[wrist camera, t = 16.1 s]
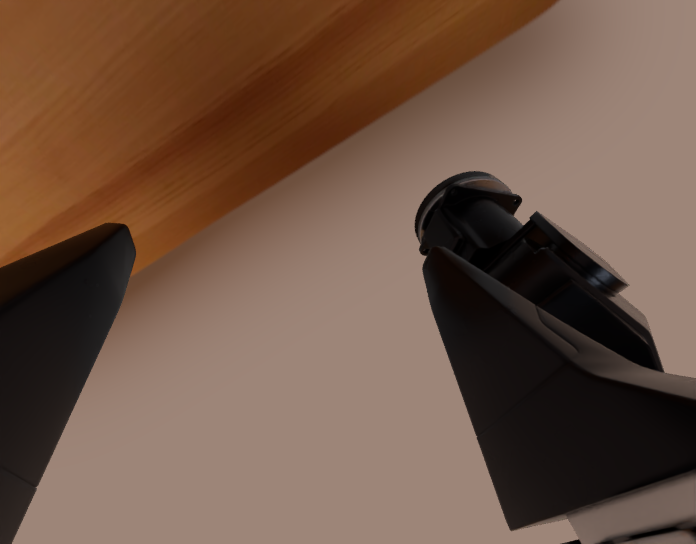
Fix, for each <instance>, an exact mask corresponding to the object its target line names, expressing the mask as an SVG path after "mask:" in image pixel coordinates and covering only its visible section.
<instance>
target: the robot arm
mask: <svg viewBox="0 0 696 544" xmlns="http://www.w3.org/2000/svg"><path fill="white" fill-rule="evenodd" d="M453 189H455V191H454V192H453V193H451V191H452V190H453ZM515 200H516V201H515ZM514 201H515V202H514ZM513 202H514V203H513ZM521 202H522V198H521V197H520V196H519V195H517V194H511V193H506V192H500V191H494V190H489V189H483V188H477V187H472V186H466V185H460V184H451V185H449V186H448V187H447V189H446V191H445V193H444V195H443V197H442V199H441V202H440V204H439V206H438V208H437V209H436V210H435V212H434V214H433V216H432V218H431V221H430V223H429V225H428V227H427V229H426V232H425V234H424V239H423V241H422V243H421V245H420V248H419V251H420V253H421V254H422V255H424V256H427V257H426V259H425V261H424V264H423V269H422V270H423V275H424V280H425V283H426V288H427V293H428V297H429V301H430V305H431V309H432V312H433V315H434V318H435V320H436V323H437V326H438V329H439V332H440V335H441V337H442V340H443V343H444V346H445V349H446V352H447V354H448V357H449V360H450V363H451V366H452V369H453V371H454V374H455V377H456V380H457V382H458V385H459V388H460V391H461V394H462V397H463V400H464V402H465V405H466V408H467V411H468V414H469V417H470V419H471V422H472V425H473V428H474V431H475V434H476V436H478V437H477V440H478V443H479V445H480V448H481V451H482V454H483V456H484V460H485V462H486V465H487V468H488V471H489V474H490V477H491V479H492V482H493V485H494V488H495V491H496V494H497V496H498V499H499V502H500V505H501V508H502V510H503V513H504V516H505V519H506V522H507V524H508V526H509V528H510V530H511V531H514V530H518V529H523V528H528V527H532V526H536V525H542V524H546V523H551V522H555V521H560V520H564V519H568V520H569V522H570V524H571V525H572V527H573V529H574V531H575V533H576V534H577V536H578V538H579V539H578V540H574V541H570V542H567V543H562V544H696V378H691V377H685V376H679V375H673V374H667V373H665V372H664V369H663V366H662V364H661V360H660V357H659V354H658V351H657V348H656V346H655V343H654V340H653V337H652V334H651V331H650V328H649V325H648V322H647V319H646V317H645V316H644V315H643V314H642V313H641V312H640V311H639V310H638V309H637V308H635V307H634V306H633V305H632V304H630V303H629V302H628V301H627V300H626V299H624V298H623V297H622V296H621V295H620V294H618V293H619V292H621V291H622V290H623V289H625V288H626V287H628V286H629V284H628V283H627V282H626V281H625V280H624V279H623V278H622V277H621V276H620V275H619V274H618V273H617V272H616V271H615V270H614V269H613V268H612V267H611V266H610V265H609V264H608V263H607V262H606V261H605V260H604V259H603V258H601V257H600V256H599V255H597V254H596V253H595V252H593V251H592V250H591V249H590V248H588V247H587V246H586V245H584V244H583V243H582V242H581V241H579V240H578V239H577V238H575V237H574V236H572V235H571V234H569V233H568V232H566V231H565V230H563V229H562V228H561V227H559V226H558V225H556V224H555V223H553V222H551V221H550V220H549V219H547V218H546V217H544V216H543V215H542V214H540V213H539V212H537V211H536V212H535V213H534V214H533V215H532V216H531V217H530V220H529V221H528V222H527V223H526V224H525V225H524V226H523V225H522V224H521V223H520V222H519V221H518V220H517V219H516V218H515V217H514V216H513V215H514V213H515V212H516V210H517V209H518V207H519V206H520V204H521ZM424 249H427V250H425V251H424ZM135 257H136V249H135V246H134V243H133V240H132V237H131V234H130V231H129V228H128V227H127V226H126V225H125V224H120V223H105V224H102V225H100V226H98V227H95V228H93V229H91V230H88V231H86V232H84V233H81V234H79V235H77V236H74V237H72V238H69V239H67V240H65V241H62V242H60V243H58V244H55V245H53V246H51V247H48V248H46V249H44V250H41V251H39V252H36V253H34V254H32V255H29V256H27V257H25V258H22V259H20V260H18V261H15V262H13V263H10V264H8V265H6V266H3V267H1V268H0V544H12V542H13V540H14V537H15V535H16V533H17V531H18V529H19V526H20V524H21V522H22V520H23V518H24V516H25V514H26V511H27V509H28V507H29V505H30V503H31V501H32V498H33V496H34V494H35V492H36V489H37V488H36V487H37V486H38V485H39V482H40V480H41V478H42V476H43V474H44V472H45V469H46V467H47V465H48V463H49V461H50V458H51V456H52V454H53V452H54V450H55V448H56V445H57V443H58V441H59V439H60V437H61V435H62V432H63V430H64V428H65V426H66V424H67V422H68V419H69V417H70V415H71V413H72V411H73V408H74V406H75V404H76V402H77V400H78V398H79V395H80V393H81V391H82V389H83V387H84V385H85V382H86V380H87V378H88V376H89V374H90V372H91V369H92V367H93V365H94V363H95V361H96V359H97V356H98V354H99V352H100V350H101V348H102V346H103V343H104V341H105V339H106V337H107V335H108V332H109V330H110V328H111V326H112V324H113V321H114V319H115V317H116V315H117V313H118V311H119V308H120V306H121V303H122V300H123V297H124V294H125V291H126V288H127V284H128V281H129V278H130V274H131V271H132V268H133V264H134V261H135Z"/></svg>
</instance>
